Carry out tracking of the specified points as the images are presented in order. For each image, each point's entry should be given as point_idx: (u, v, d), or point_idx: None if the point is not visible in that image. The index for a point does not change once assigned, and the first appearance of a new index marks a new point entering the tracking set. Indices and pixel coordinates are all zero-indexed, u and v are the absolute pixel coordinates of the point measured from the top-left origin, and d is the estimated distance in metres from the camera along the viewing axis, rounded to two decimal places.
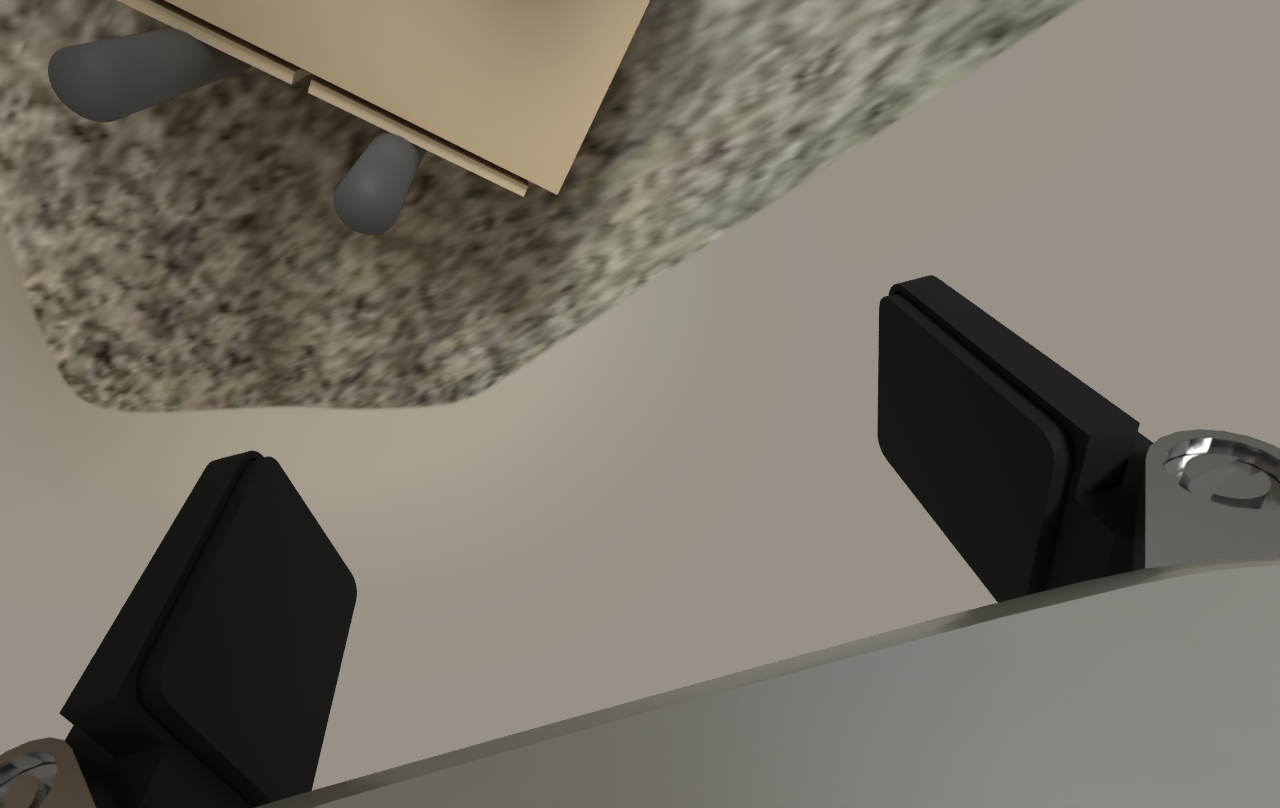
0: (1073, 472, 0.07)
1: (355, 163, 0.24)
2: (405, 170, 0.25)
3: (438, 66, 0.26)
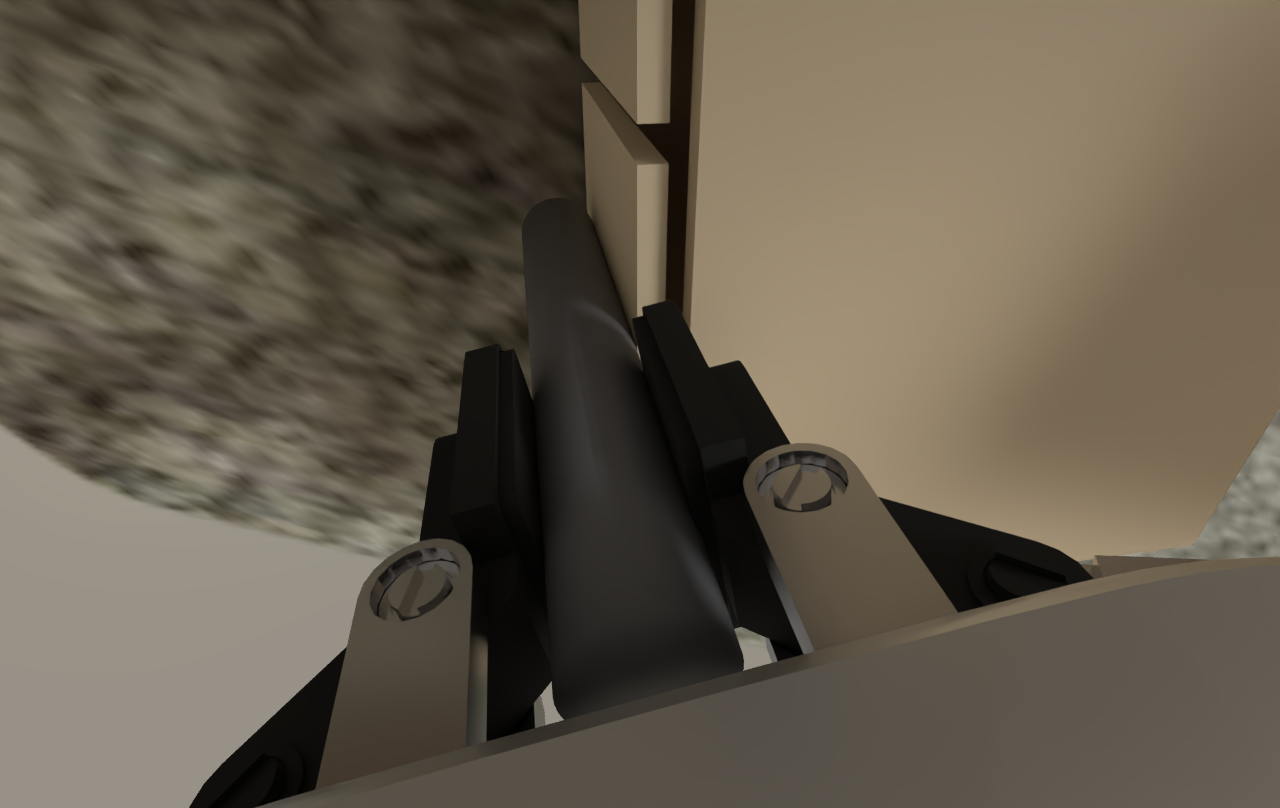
0: (704, 479, 0.08)
1: (646, 462, 0.08)
2: None
3: (810, 384, 0.13)
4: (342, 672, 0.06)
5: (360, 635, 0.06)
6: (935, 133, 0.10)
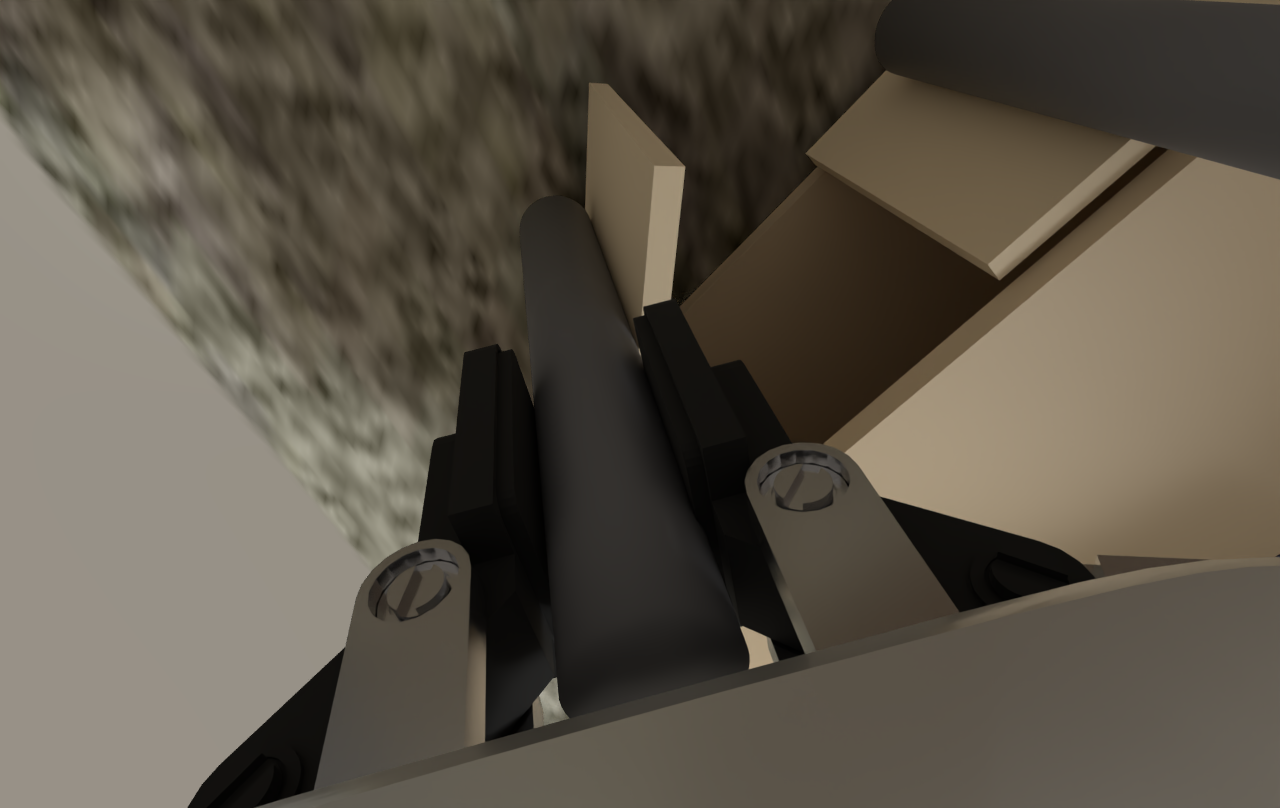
0: (705, 479, 0.08)
1: (654, 460, 0.08)
2: None
3: None
4: (341, 673, 0.06)
5: (359, 636, 0.06)
6: (1092, 410, 0.14)
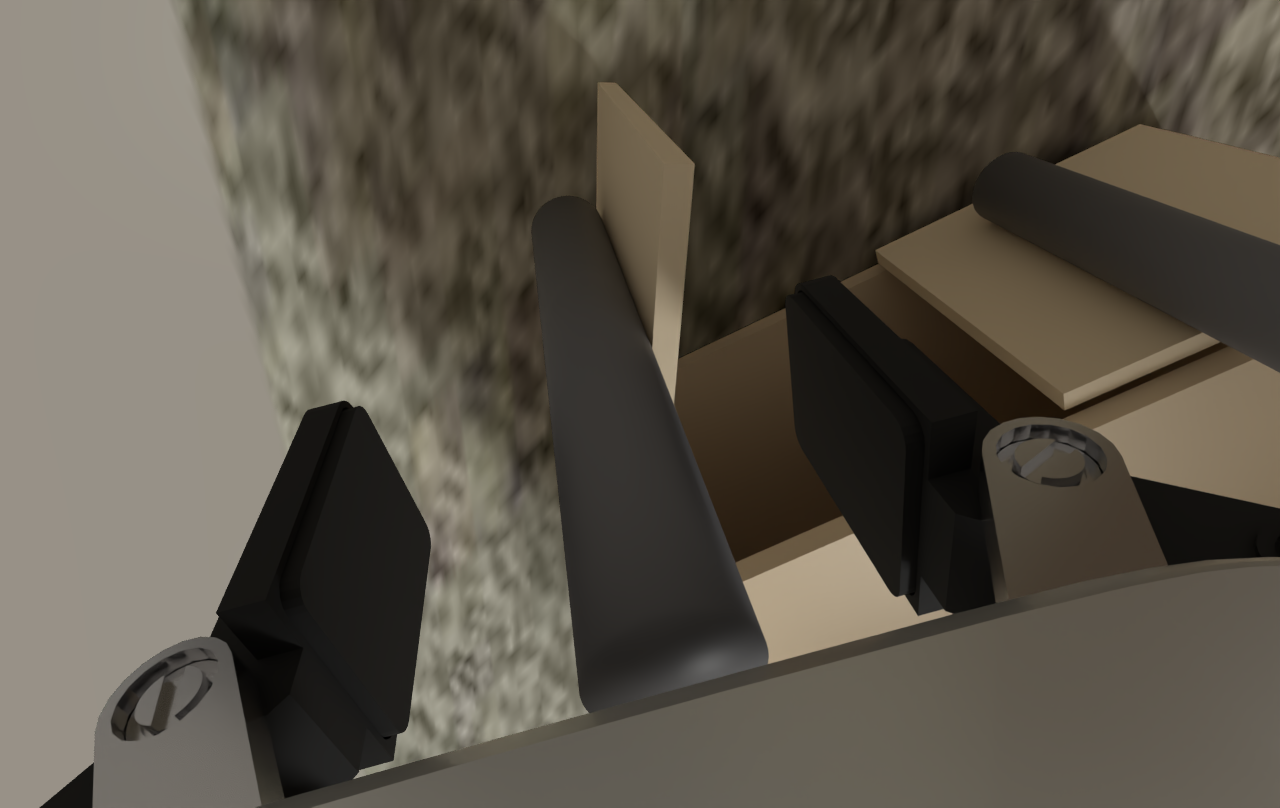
0: (924, 456, 0.07)
1: (670, 457, 0.09)
2: None
3: None
4: None
5: (108, 766, 0.06)
6: None
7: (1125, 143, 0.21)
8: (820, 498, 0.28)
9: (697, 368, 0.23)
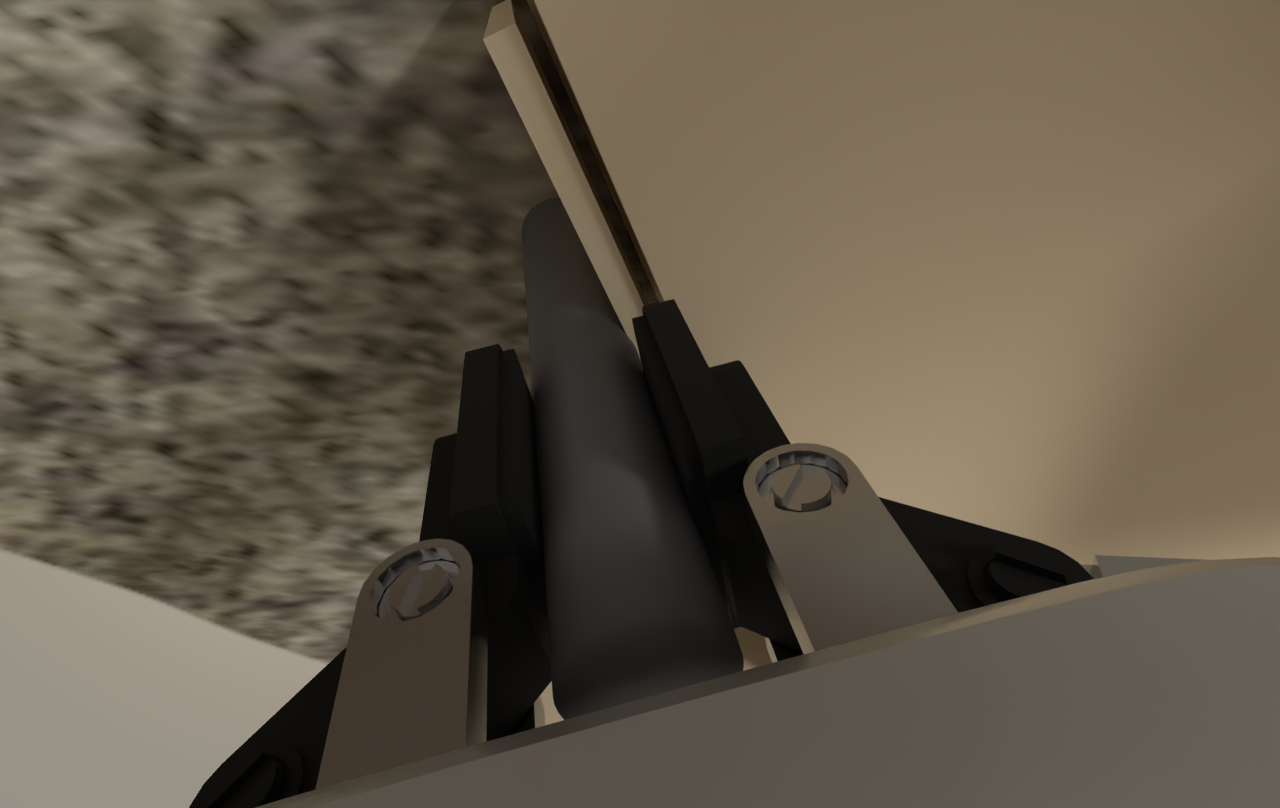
0: (703, 479, 0.08)
1: None
2: None
3: None
4: (342, 672, 0.06)
5: (360, 635, 0.06)
6: (916, 412, 0.14)
7: None
8: None
9: None
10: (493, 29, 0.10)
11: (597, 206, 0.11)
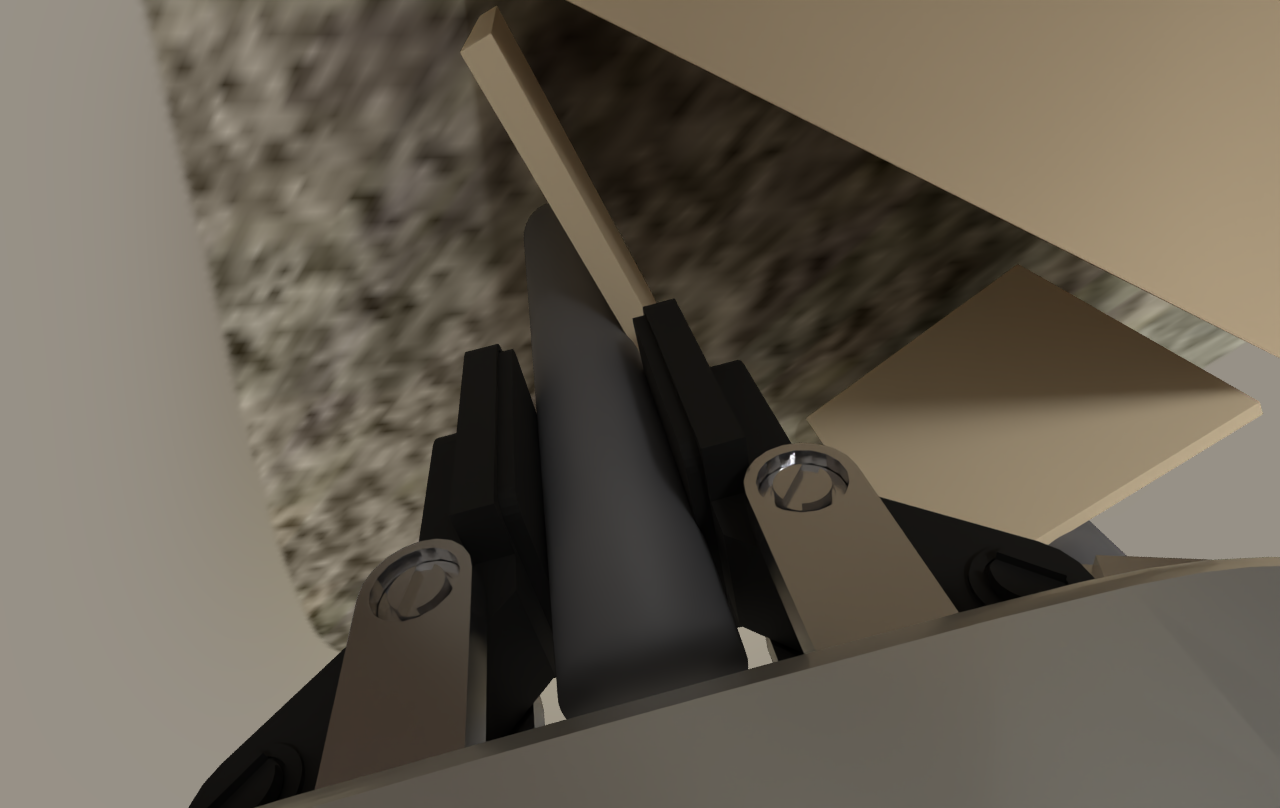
0: (704, 479, 0.08)
1: None
2: None
3: (1277, 192, 0.12)
4: (342, 672, 0.06)
5: (360, 635, 0.06)
6: None
7: None
8: None
9: None
10: (472, 41, 0.10)
11: (587, 209, 0.11)
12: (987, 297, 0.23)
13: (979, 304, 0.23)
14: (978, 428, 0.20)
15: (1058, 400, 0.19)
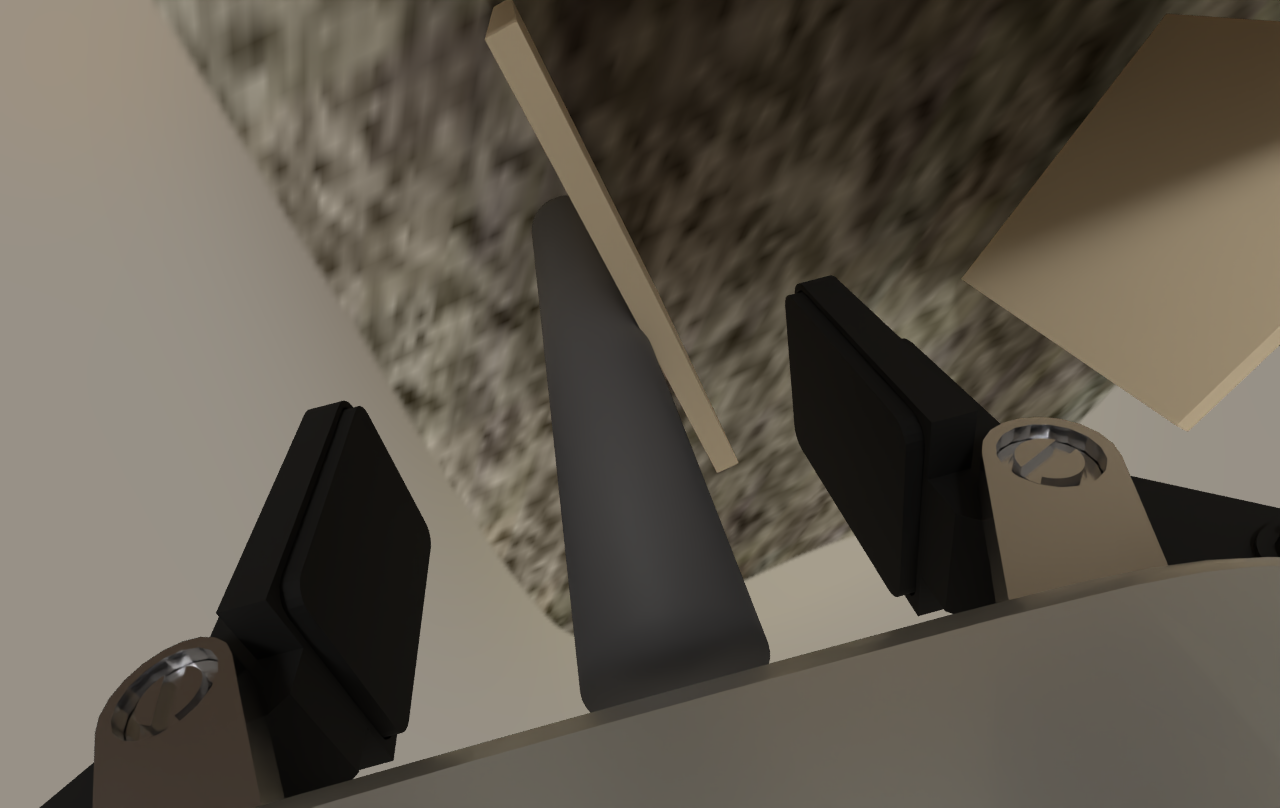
0: (924, 456, 0.07)
1: None
2: None
3: None
4: None
5: (108, 766, 0.06)
6: None
7: None
8: None
9: None
10: (495, 29, 0.10)
11: (605, 201, 0.11)
12: (1139, 66, 0.20)
13: (1131, 79, 0.20)
14: (1174, 217, 0.17)
15: (1270, 148, 0.16)
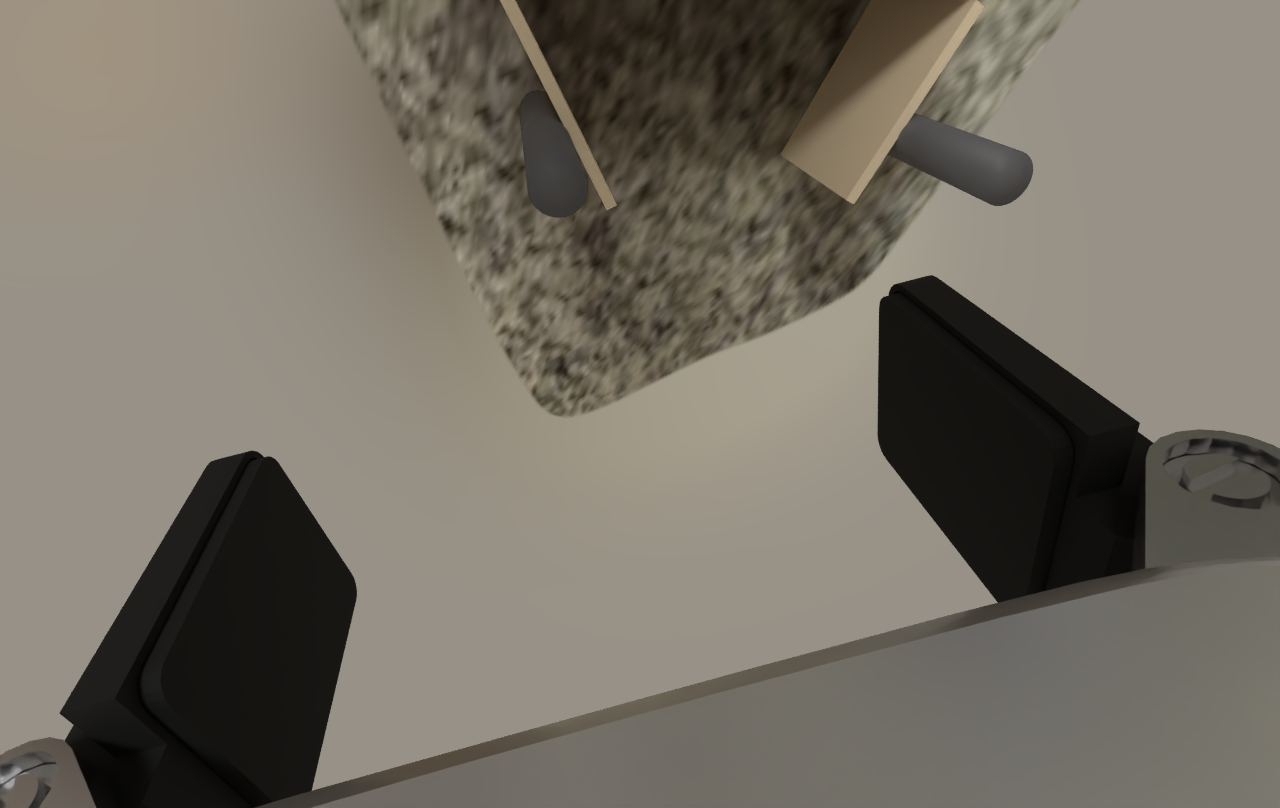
0: (1074, 472, 0.07)
1: (946, 179, 0.27)
2: (957, 134, 0.27)
3: None
4: None
5: None
6: None
7: None
8: None
9: None
10: None
11: (546, 63, 0.26)
12: (861, 22, 0.35)
13: (858, 30, 0.35)
14: (861, 99, 0.33)
15: (895, 58, 0.31)
